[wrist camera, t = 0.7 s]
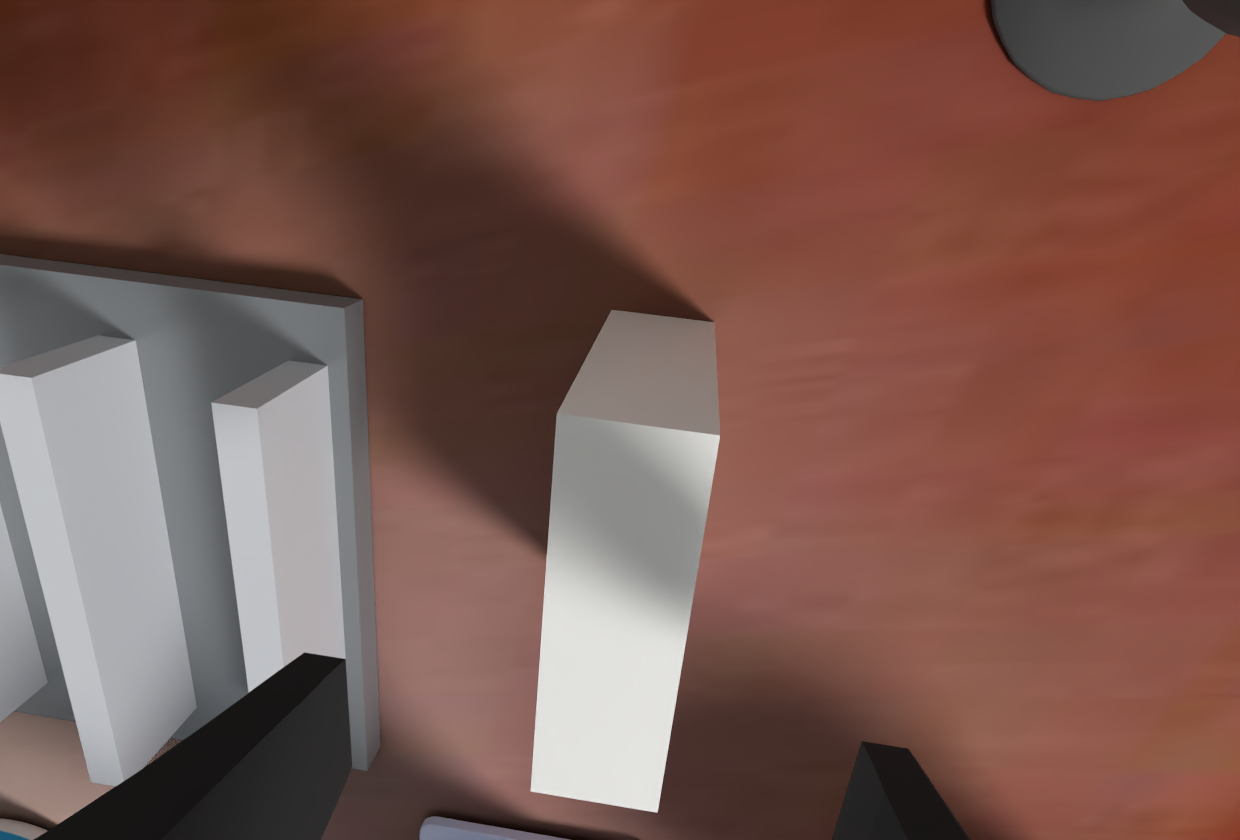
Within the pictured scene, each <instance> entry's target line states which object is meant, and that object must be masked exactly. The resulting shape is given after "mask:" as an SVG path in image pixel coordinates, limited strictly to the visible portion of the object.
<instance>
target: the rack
mask: <svg viewBox="0 0 1240 840" xmlns="http://www.w3.org/2000/svg"><path fill="white" fill-rule="evenodd" d="M304 652H305V653H311V654H317V655H324V656H330V657H336V658H342V659H346V673H347V689H348V705H349V721H350V737H351V753H352V769H357V770H363V771H368V769H369V768H370V766H371V764H372V762H373V760H374V758H375V756H376V754H377V752H378V751H379V749H380V747H381V740H380V715H379V690H378V665H377V640H376V615H375V589H374V564H373V539H372V514H371V489H370V464H369V439H368V414H367V389H366V364H365V339H364V314H363V299H356V298H348V297H340V296H332V295H324V294H316V293H308V292H300V291H292V290H284V289H276V288H268V287H260V286H252V285H244V284H236V283H228V282H220V281H212V280H204V279H196V278H188V277H180V276H172V275H164V274H156V273H148V272H140V271H132V270H124V269H116V268H108V267H100V266H92V265H84V264H76V263H68V262H60V261H52V260H44V259H37V258H29V257H21V256H13V255H5V254H0V722H1V721H3V720H4V719H5V718H6V717H7V716H9V715H10V714H11V713H12V712H13V711H15V712H21V713H27V714H33V715H39V716H45V717H51V718H57V719H63V720H68V721H74V722H76V724H77V728H78V732H79V736H80V740H81V744H82V748H83V752H84V756H85V760H86V764H87V768H88V772H89V776H90V780H91V782H93V783H98V784H104V785H110V786H115V787H116V786H117V785H119V784H120V783H122V782H123V781H125V780H126V779H128V778H130V777H131V776H133V775H134V774H136V773H137V772H139V771H140V770H141V769H143V768H144V767H145V765H146V764H147V763H148V762H149V761H150V760H151V759H152V758H153V756H154V755H155V754H156V753H157V752H158V751H159V750H160V748H161V747H162V746H163V745H164V744H165V743H166V742H167V741H168V739H169V738H175V739H181V740H184V739H185V738H187V737H188V736H190V735H191V734H193V733H194V732H195V731H197V730H198V729H200V728H201V727H202V726H204V725H205V724H207V723H208V722H209V721H211V720H212V719H213V718H215V717H216V716H218V715H219V714H220V713H222V712H223V711H224V710H226V709H227V708H229V707H230V706H231V705H233V704H234V703H235V702H237V701H238V700H239V699H241V698H242V697H244V696H245V695H246V694H248V693H249V692H250V691H252V690H253V689H254V688H256V687H257V686H258V685H260V684H261V683H263V682H264V681H265V680H267V679H268V678H269V677H271V676H272V675H274V674H275V673H276V672H278V671H279V670H280V669H282V668H283V667H285V666H286V665H287V664H289V663H290V662H292V661H293V660H294V659H296V658H297V657H299V656H300V655H302V654H303V653H304Z"/></svg>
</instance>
